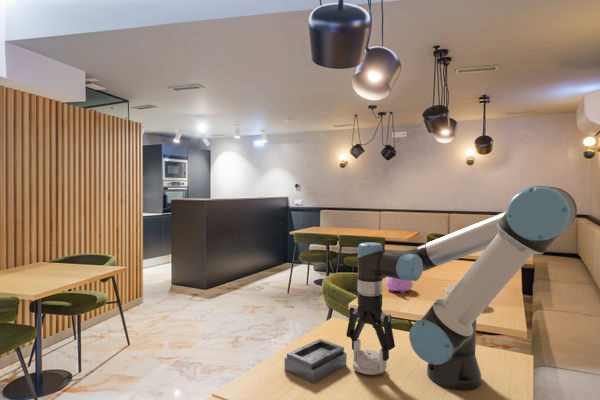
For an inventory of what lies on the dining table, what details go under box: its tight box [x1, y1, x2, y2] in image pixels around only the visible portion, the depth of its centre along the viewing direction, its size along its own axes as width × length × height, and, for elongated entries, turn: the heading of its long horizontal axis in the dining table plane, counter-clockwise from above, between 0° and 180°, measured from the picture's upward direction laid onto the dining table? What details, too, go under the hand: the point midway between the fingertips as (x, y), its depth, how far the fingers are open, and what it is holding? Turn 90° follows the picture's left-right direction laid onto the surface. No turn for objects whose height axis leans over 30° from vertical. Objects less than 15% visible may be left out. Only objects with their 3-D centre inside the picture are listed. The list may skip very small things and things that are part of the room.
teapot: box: [385, 277, 413, 294], centre depth 211 cm, size 20×14×12 cm
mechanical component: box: [352, 349, 386, 376], centre depth 120 cm, size 10×4×10 cm
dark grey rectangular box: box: [283, 338, 347, 385], centre depth 123 cm, size 12×19×6 cm, turn 137°
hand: (369, 365), depth 120 cm, fingers closed on mechanical component, 9 cm apart
